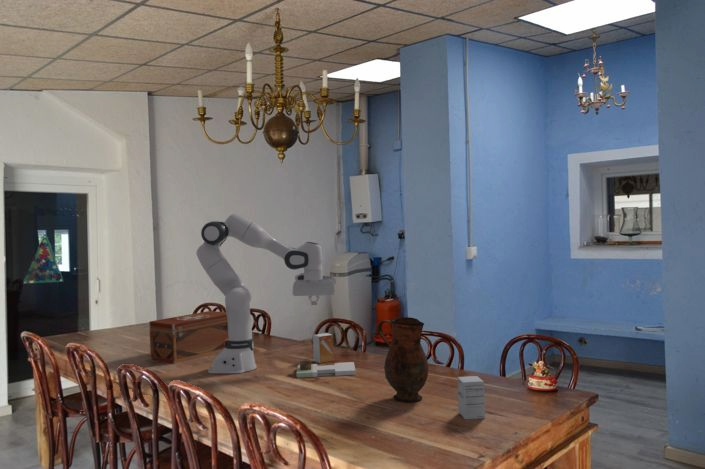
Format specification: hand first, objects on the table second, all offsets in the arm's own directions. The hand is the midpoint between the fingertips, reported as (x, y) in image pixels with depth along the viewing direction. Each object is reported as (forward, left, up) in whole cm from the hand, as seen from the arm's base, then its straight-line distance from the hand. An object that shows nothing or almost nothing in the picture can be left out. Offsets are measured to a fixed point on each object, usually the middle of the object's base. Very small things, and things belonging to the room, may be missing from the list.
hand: (314, 305), depth 287 cm
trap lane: (+5, -15, -29) cm, 32 cm away
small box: (+4, +7, -29) cm, 30 cm away
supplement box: (+54, -86, -29) cm, 105 cm away
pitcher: (+34, -61, -29) cm, 75 cm away
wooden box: (-66, +39, -29) cm, 82 cm away
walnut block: (-5, -15, -27) cm, 31 cm away
